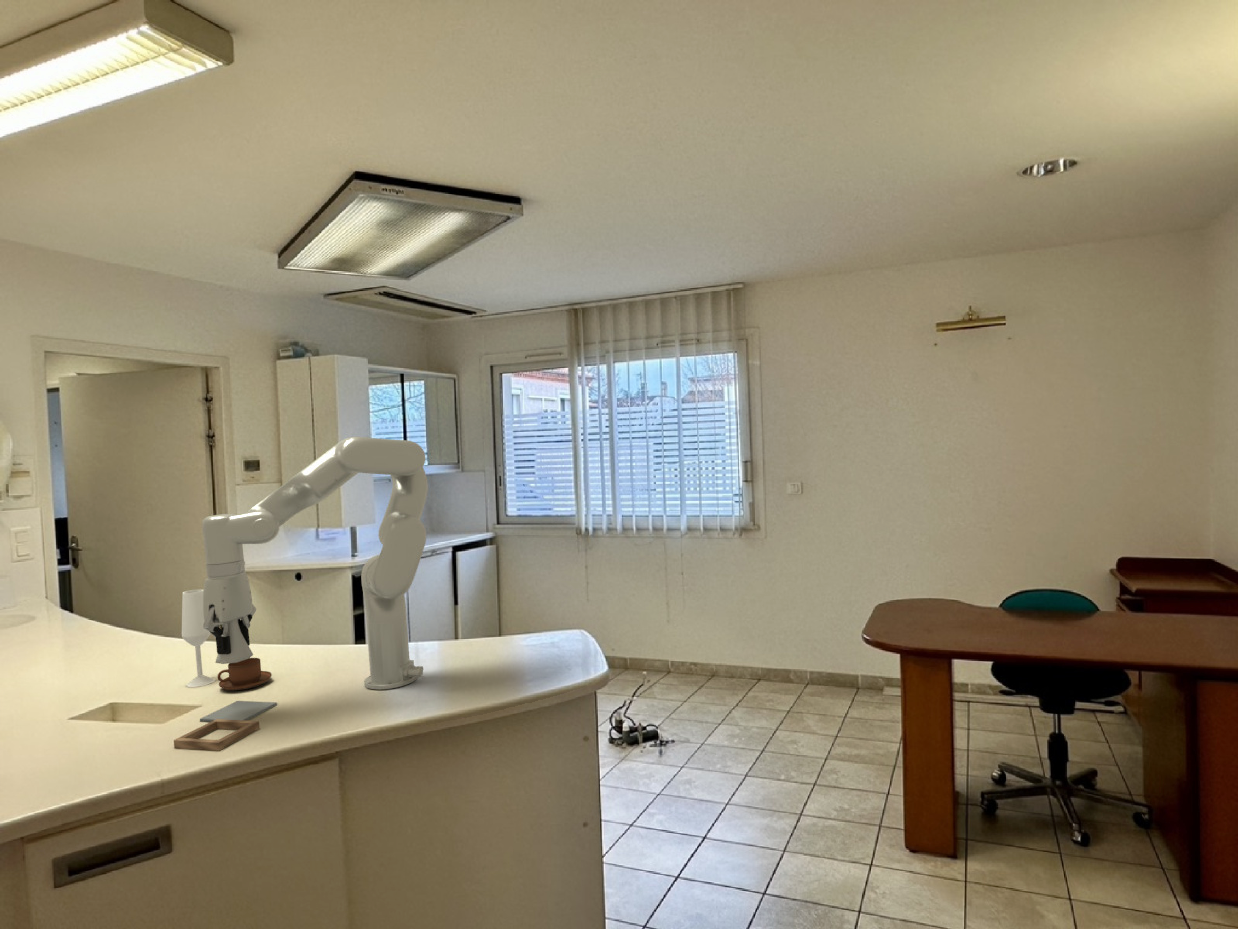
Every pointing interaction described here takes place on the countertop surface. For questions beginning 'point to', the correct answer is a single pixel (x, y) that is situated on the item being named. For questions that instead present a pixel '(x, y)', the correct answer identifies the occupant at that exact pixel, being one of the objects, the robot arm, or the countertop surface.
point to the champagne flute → (195, 630)
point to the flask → (235, 646)
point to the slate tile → (239, 711)
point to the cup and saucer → (244, 675)
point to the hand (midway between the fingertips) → (233, 649)
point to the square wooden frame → (241, 731)
